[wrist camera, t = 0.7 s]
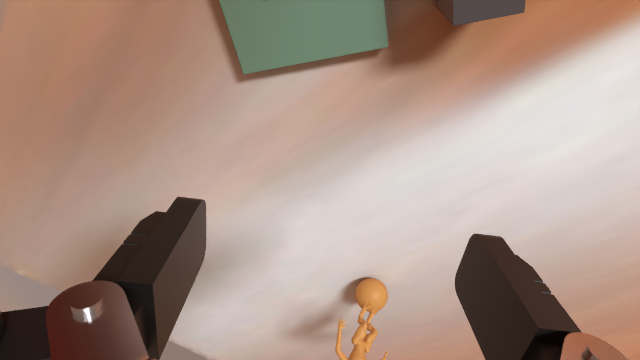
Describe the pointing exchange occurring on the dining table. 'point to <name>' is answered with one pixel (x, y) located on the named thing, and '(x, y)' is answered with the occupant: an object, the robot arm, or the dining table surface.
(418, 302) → the dining table surface
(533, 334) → the robot arm
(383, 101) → the dining table surface
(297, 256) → the dining table surface
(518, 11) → the block
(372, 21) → the board
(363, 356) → the figurine
